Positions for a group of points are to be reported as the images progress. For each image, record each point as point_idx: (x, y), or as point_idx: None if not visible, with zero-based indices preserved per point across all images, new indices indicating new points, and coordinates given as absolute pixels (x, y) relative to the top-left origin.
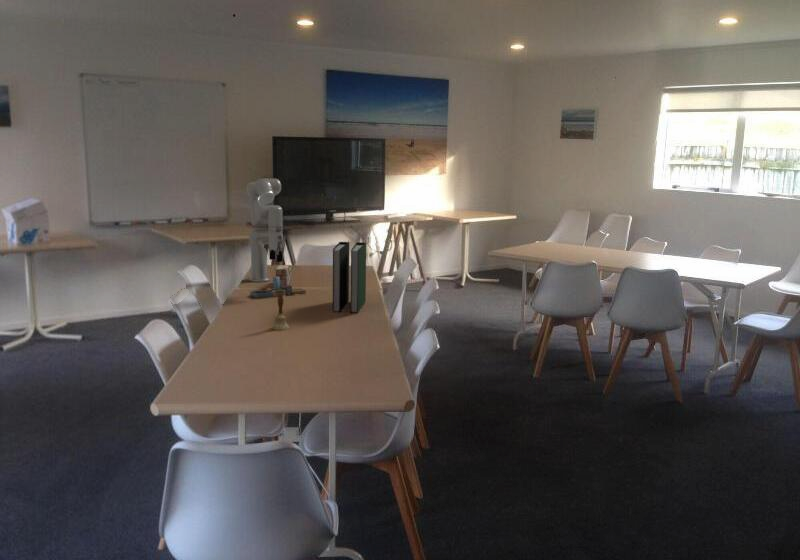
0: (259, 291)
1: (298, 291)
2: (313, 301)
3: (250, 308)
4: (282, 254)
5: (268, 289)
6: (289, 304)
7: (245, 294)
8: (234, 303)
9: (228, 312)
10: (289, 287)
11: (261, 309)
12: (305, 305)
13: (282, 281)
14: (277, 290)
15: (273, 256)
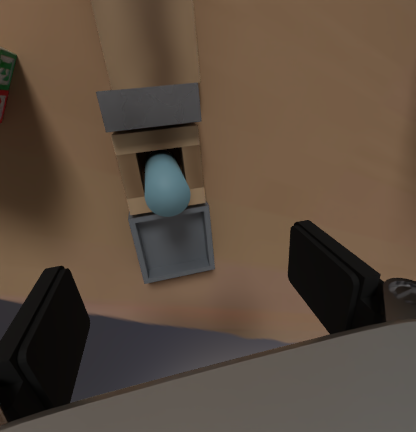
0: (141, 245)
1: (195, 37)
2: (371, 36)
3: None
4: (398, 281)
5: (145, 209)
6: (353, 166)
7: (107, 284)
8: (243, 323)
9: None
10: (198, 101)
11: None
12: (404, 109)
13: None
14: (187, 172)
15: (65, 316)
